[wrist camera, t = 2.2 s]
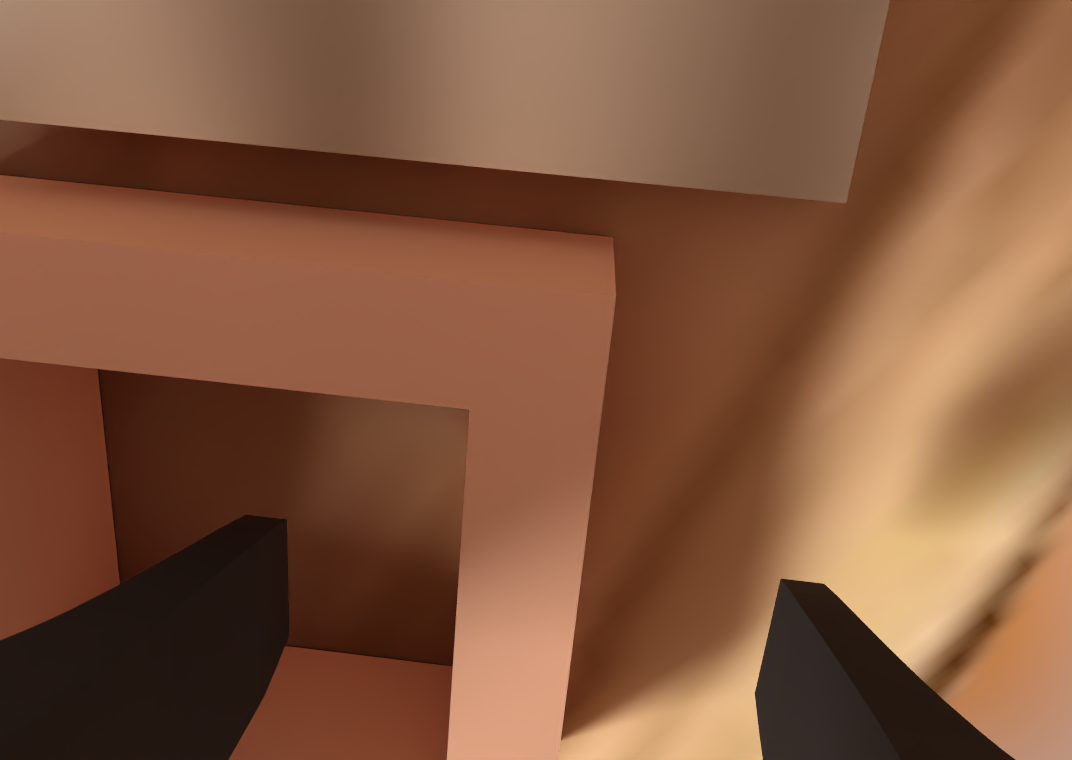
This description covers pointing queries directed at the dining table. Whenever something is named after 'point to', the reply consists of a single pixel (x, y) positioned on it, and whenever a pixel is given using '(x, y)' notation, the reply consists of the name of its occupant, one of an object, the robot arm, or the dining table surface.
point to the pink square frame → (329, 368)
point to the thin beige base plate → (472, 82)
